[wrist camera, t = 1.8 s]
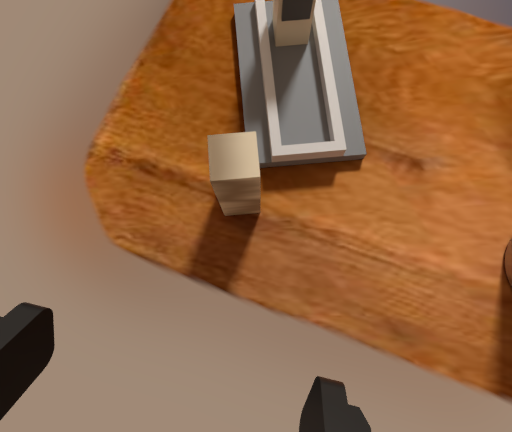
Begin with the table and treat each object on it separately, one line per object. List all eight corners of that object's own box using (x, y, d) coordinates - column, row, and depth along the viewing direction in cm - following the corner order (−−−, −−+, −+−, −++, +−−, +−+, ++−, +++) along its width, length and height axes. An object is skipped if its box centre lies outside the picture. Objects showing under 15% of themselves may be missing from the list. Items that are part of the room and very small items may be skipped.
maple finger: (256, 175, 34) (255, 126, 25) (260, 212, 33) (260, 176, 24) (222, 178, 34) (207, 130, 25) (224, 215, 33) (210, 181, 24)
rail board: (334, 4, 40) (363, -108, 29) (362, 158, 35) (409, 94, 24) (234, 12, 39) (224, -97, 29) (248, 168, 35) (243, 108, 24)
